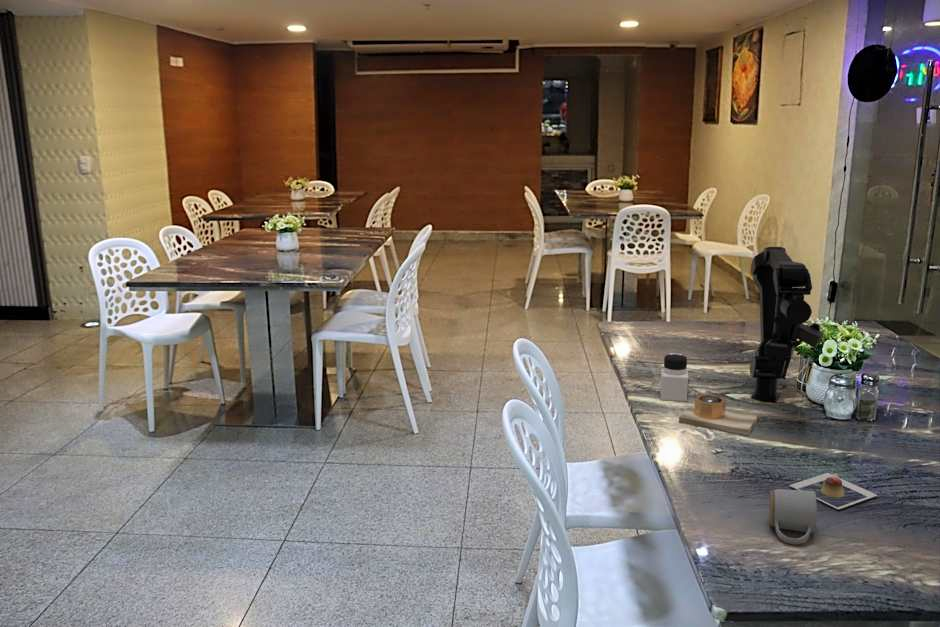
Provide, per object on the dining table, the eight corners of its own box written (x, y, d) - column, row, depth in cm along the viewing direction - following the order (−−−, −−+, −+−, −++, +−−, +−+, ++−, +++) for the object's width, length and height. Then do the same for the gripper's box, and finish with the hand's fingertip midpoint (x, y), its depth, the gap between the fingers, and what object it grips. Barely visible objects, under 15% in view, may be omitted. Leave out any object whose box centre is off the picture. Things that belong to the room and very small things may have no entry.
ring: (699, 407, 208) (700, 392, 207) (726, 412, 204) (728, 397, 203) (691, 415, 202) (692, 400, 201) (719, 420, 198) (720, 405, 197)
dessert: (838, 514, 156) (840, 492, 155) (788, 489, 166) (790, 469, 165) (877, 500, 161) (880, 478, 160) (827, 477, 172) (829, 456, 171)
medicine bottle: (687, 402, 216) (690, 359, 213) (660, 400, 217) (662, 358, 214) (686, 393, 222) (688, 352, 220) (659, 391, 224) (662, 351, 221)
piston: (703, 410, 206) (704, 395, 205) (719, 412, 204) (720, 398, 203) (699, 414, 202) (700, 400, 201) (715, 417, 200) (716, 402, 199)
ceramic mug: (766, 515, 155) (770, 479, 153) (812, 520, 153) (815, 484, 150) (769, 543, 145) (772, 505, 143) (817, 550, 143) (821, 511, 141)
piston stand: (692, 407, 211) (692, 402, 211) (758, 419, 203) (759, 414, 202) (678, 422, 201) (679, 417, 201) (747, 435, 193) (748, 430, 192)
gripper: (816, 326, 185) (810, 389, 189) (827, 309, 201) (821, 368, 205) (766, 320, 191) (761, 381, 195) (781, 304, 206) (776, 361, 210)
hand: (782, 373), depth 201 cm, fingers open, 9 cm apart
